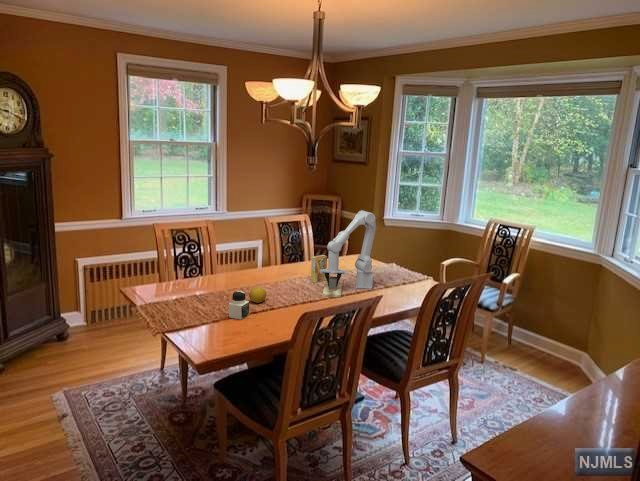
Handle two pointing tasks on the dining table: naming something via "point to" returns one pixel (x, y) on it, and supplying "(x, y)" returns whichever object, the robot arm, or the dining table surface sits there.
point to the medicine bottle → (238, 306)
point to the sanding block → (332, 283)
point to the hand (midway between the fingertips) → (332, 286)
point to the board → (332, 293)
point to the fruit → (257, 294)
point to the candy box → (318, 268)
